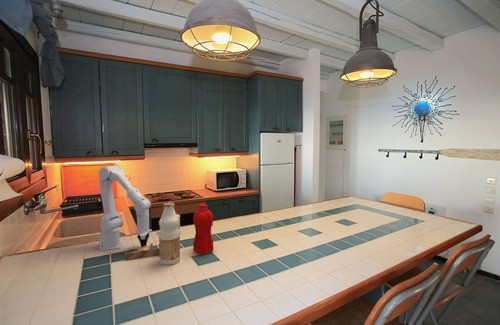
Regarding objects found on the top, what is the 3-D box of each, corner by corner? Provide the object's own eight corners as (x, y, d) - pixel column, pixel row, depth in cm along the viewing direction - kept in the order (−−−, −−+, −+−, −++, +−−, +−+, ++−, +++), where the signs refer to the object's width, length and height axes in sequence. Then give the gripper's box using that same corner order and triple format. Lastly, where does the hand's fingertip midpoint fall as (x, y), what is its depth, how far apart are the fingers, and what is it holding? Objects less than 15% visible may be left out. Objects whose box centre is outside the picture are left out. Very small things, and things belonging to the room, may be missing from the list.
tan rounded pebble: (136, 257, 126) (136, 251, 126) (137, 252, 131) (137, 246, 131) (149, 255, 128) (149, 249, 128) (149, 250, 134) (149, 244, 133)
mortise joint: (125, 260, 122) (125, 253, 122) (126, 253, 130) (126, 246, 130) (160, 255, 128) (160, 248, 128) (160, 248, 136) (159, 242, 136)
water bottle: (218, 249, 135) (218, 203, 133) (201, 256, 127) (201, 207, 125) (207, 245, 142) (207, 200, 140) (190, 251, 134) (190, 204, 132)
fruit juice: (160, 267, 116) (159, 206, 114) (158, 258, 124) (157, 202, 122) (181, 263, 120) (181, 204, 118) (178, 255, 129) (177, 200, 126)
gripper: (151, 226, 127) (152, 252, 128) (151, 217, 141) (151, 241, 142) (135, 227, 125) (136, 254, 126) (137, 219, 138) (138, 243, 139)
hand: (143, 247), depth 133 cm, fingers closed
